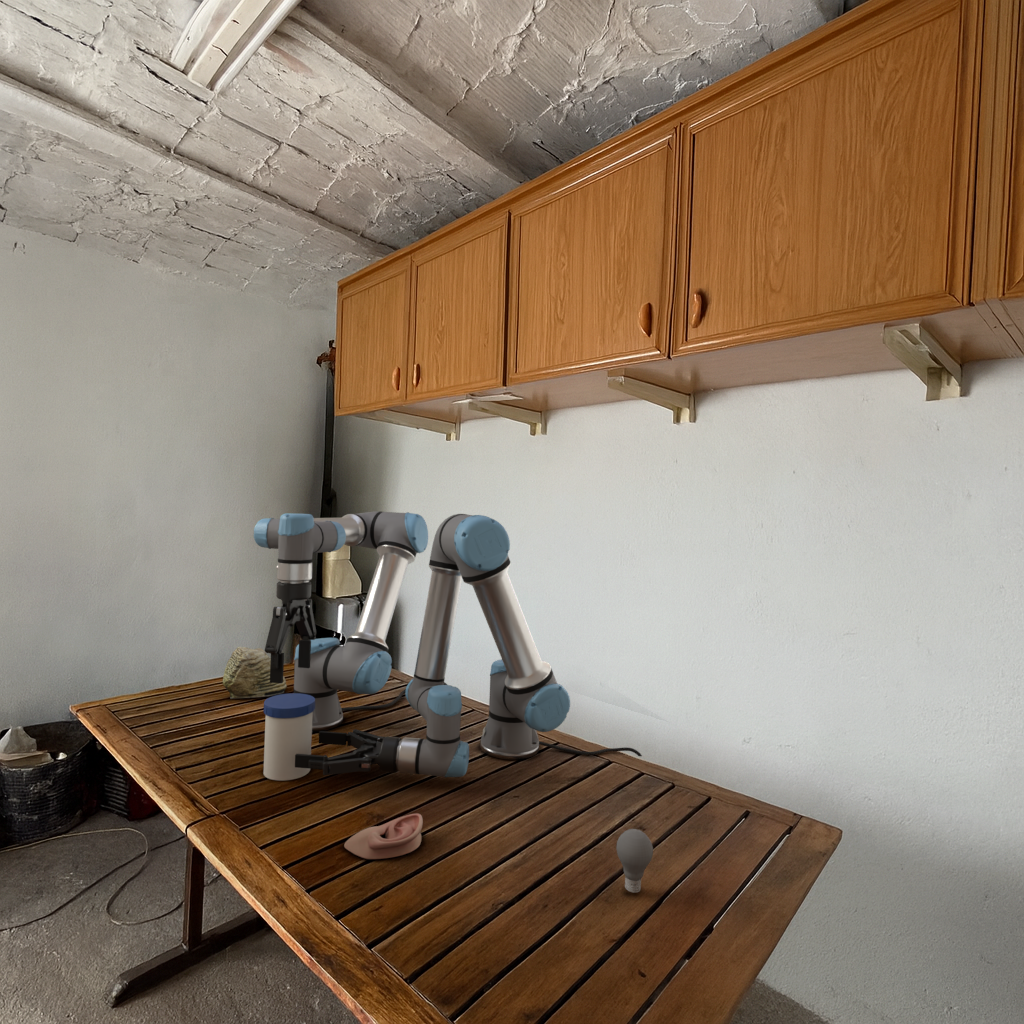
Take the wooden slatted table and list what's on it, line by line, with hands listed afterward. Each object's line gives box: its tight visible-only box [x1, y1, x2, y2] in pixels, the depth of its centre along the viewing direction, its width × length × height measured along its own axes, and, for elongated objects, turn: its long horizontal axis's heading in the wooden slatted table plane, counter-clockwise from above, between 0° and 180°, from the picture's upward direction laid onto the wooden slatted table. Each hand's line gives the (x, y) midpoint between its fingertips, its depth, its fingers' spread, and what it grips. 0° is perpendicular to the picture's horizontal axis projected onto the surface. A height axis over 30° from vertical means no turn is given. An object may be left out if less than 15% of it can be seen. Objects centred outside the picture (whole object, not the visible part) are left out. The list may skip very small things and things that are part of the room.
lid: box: [262, 692, 315, 718], centre depth 145 cm, size 11×11×2 cm
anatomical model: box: [343, 813, 424, 860], centre depth 117 cm, size 13×4×12 cm
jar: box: [262, 712, 313, 782], centre depth 145 cm, size 10×10×16 cm
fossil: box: [222, 646, 288, 699], centre depth 198 cm, size 9×18×15 cm, turn 132°
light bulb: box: [615, 828, 654, 894], centre depth 106 cm, size 6×6×10 cm
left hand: (290, 674), depth 145 cm, fingers open, 12 cm apart
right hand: (307, 748), depth 144 cm, fingers open, 13 cm apart
